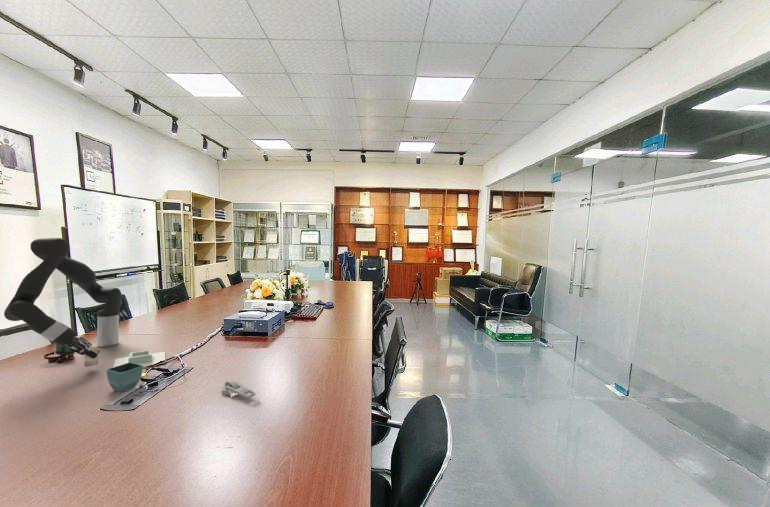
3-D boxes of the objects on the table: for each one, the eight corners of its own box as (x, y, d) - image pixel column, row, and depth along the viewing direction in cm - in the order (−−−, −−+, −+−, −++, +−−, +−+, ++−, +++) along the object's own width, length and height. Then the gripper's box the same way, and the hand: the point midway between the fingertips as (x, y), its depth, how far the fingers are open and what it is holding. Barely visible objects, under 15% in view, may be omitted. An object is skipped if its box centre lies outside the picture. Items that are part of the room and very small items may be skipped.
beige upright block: (85, 363, 141) (85, 346, 140) (98, 361, 143) (98, 345, 143) (83, 367, 137) (83, 349, 137) (96, 365, 140) (97, 348, 139)
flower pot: (143, 385, 127) (144, 365, 127) (119, 395, 119) (119, 373, 119) (129, 382, 130) (130, 361, 130) (105, 391, 122) (105, 369, 122)
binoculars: (38, 344, 144) (62, 336, 154) (41, 365, 146) (64, 355, 156) (54, 345, 144) (77, 337, 153) (57, 366, 145) (80, 357, 155)
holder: (115, 360, 152) (115, 352, 152) (164, 353, 164) (164, 345, 164) (111, 373, 138) (111, 363, 138) (165, 364, 150) (165, 355, 150)
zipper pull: (242, 406, 114) (242, 395, 114) (216, 392, 124) (216, 382, 124) (260, 398, 121) (260, 387, 121) (235, 385, 130) (235, 375, 130)
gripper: (64, 331, 129) (102, 353, 137) (71, 323, 141) (106, 344, 148) (46, 345, 126) (86, 367, 134) (55, 336, 138) (91, 356, 145)
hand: (96, 354), depth 141 cm, fingers closed on beige upright block, 4 cm apart
